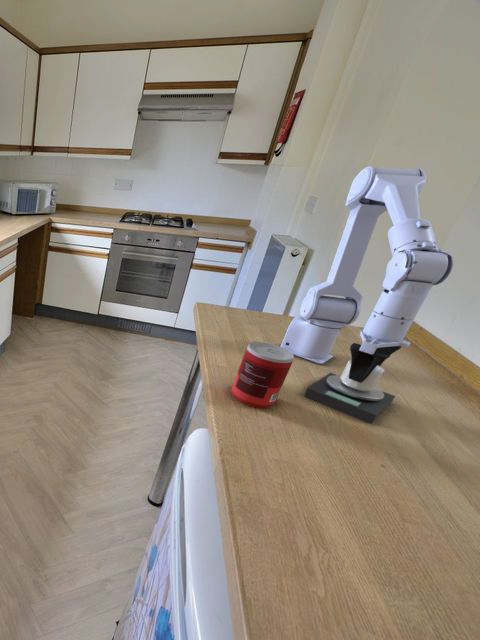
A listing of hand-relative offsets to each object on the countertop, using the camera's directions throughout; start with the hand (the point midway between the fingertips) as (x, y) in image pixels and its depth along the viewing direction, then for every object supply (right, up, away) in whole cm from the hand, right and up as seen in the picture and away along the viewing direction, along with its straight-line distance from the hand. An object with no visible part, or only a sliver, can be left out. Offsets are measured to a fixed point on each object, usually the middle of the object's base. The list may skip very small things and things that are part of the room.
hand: (360, 376), depth 83 cm
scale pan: (0, -3, +1) cm, 3 cm away
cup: (0, -2, +1) cm, 2 cm away
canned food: (-22, -5, +1) cm, 22 cm away
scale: (-1, -5, +2) cm, 5 cm away
